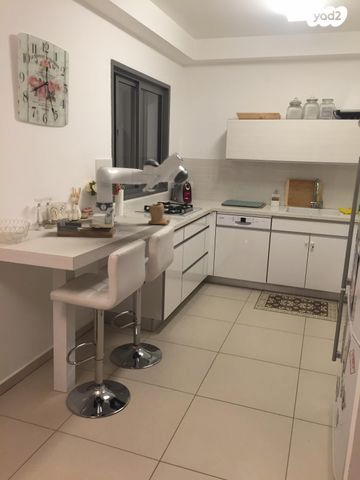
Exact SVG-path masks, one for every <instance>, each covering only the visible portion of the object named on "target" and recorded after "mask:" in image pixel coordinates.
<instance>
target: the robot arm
mask: <svg viewBox="0 0 360 480" xmlns="http://www.w3.org/2000/svg"><path fill="white" fill-rule="evenodd" d="M183 163H184V159H183V158H182V156H181V155H180V154H178V153H177V152H174V153H172V154H171V155H166V157H165V158H163V159H162V160H161V162H160V164H159V162H158V161H156V160H154V159H147V160H145V161H144V162H143V170H142V169H140V168H138V169H137V168H130V167H129V168H127V167H113V166H111V167H110V166H109V167H108V166H104V165H103V166H100V167H98V168H97V171H96V202H95V208H94V210H93V215H94V214H105V213H109V214H110V211H111V210H112V209H114V208H113V207H114V202H113V184H125V185H141V187H142V192H143V193H145V192H155V191H157V189H158V187H159V183H170V184H172V185H173V184H174V185H179V186H180V185H182V184H184V183H186V181H187V180H188V178H189V172H188V171H187V170H186V169H185V168H184V167H183V166H182V164H183ZM114 215H115V217H114V223H118V219H117V217H116V210H115V209H114ZM91 222H93V218H92V219H91Z"/></svg>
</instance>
